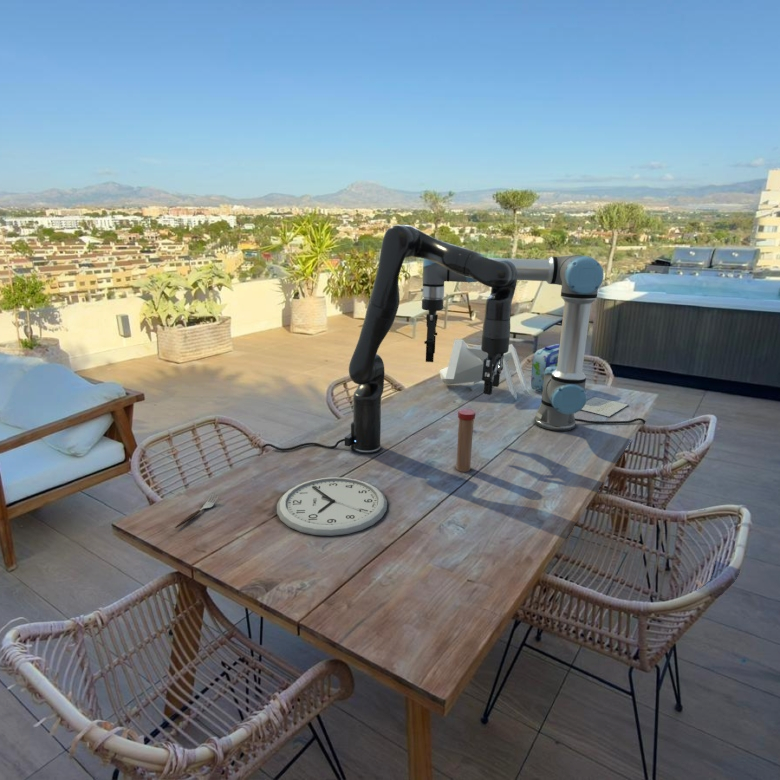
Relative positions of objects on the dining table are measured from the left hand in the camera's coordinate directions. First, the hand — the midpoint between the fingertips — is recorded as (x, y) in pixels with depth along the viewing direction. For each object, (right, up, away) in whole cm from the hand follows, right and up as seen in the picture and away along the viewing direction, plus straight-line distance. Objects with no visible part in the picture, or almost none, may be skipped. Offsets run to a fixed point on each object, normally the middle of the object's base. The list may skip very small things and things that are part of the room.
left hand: (491, 390), depth 150 cm
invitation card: (+62, -7, +76) cm, 99 cm away
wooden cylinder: (-6, -25, +16) cm, 30 cm away
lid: (-6, -7, +10) cm, 13 cm away
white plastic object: (+13, -1, +93) cm, 94 cm away
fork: (-80, -33, -13) cm, 87 cm away
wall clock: (-45, -31, -7) cm, 55 cm away
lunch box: (+48, +1, +101) cm, 112 cm away
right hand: (-14, +12, +39) cm, 44 cm away
